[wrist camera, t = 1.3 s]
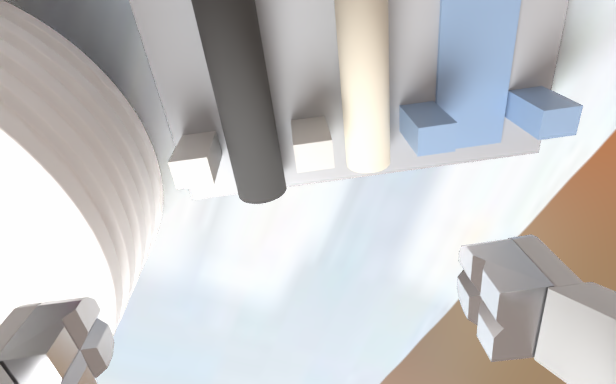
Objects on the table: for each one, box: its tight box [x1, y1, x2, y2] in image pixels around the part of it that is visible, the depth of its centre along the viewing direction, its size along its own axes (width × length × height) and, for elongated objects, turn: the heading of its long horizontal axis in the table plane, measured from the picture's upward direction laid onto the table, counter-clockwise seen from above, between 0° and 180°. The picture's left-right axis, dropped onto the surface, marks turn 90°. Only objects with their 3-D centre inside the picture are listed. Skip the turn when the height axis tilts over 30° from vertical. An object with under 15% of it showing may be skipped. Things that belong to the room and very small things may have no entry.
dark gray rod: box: [191, 0, 286, 204], centre depth 26 cm, size 16×4×4 cm, turn 7°
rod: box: [334, 0, 390, 173], centre depth 26 cm, size 14×3×3 cm, turn 7°
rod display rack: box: [129, 0, 583, 200], centre depth 26 cm, size 18×28×6 cm, turn 97°
